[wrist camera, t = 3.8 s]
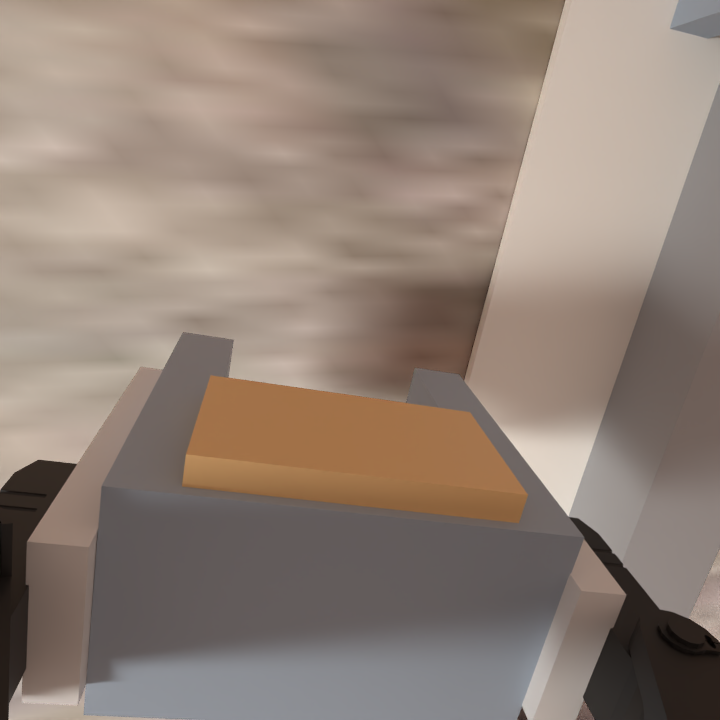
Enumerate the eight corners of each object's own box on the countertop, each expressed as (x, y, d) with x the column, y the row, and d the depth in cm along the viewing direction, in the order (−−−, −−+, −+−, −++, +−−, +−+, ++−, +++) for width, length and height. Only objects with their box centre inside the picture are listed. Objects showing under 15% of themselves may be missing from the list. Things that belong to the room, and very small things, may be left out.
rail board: (417, 554, 23) (440, 635, 19) (668, -386, 15) (796, -574, 11) (681, 584, 24) (751, 664, 21) (1040, -248, 16) (1265, -369, 12)
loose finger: (166, 477, 16) (83, 714, 9) (185, 312, 14) (104, 452, 8) (423, 506, 17) (512, 733, 10) (463, 356, 16) (594, 509, 9)
